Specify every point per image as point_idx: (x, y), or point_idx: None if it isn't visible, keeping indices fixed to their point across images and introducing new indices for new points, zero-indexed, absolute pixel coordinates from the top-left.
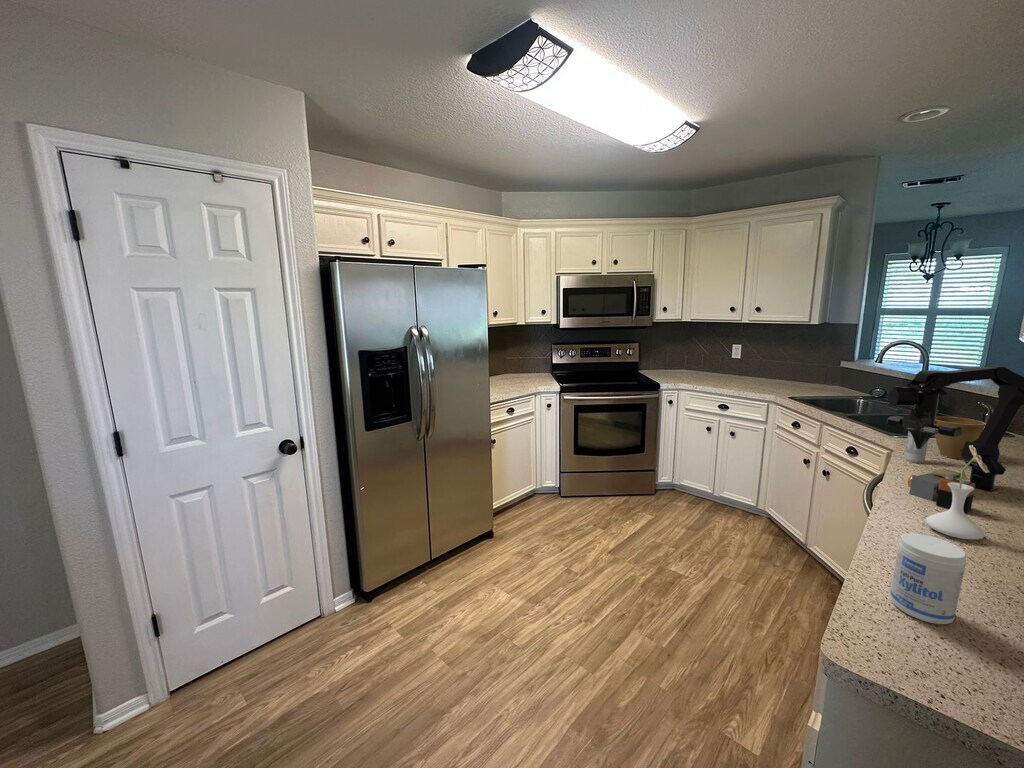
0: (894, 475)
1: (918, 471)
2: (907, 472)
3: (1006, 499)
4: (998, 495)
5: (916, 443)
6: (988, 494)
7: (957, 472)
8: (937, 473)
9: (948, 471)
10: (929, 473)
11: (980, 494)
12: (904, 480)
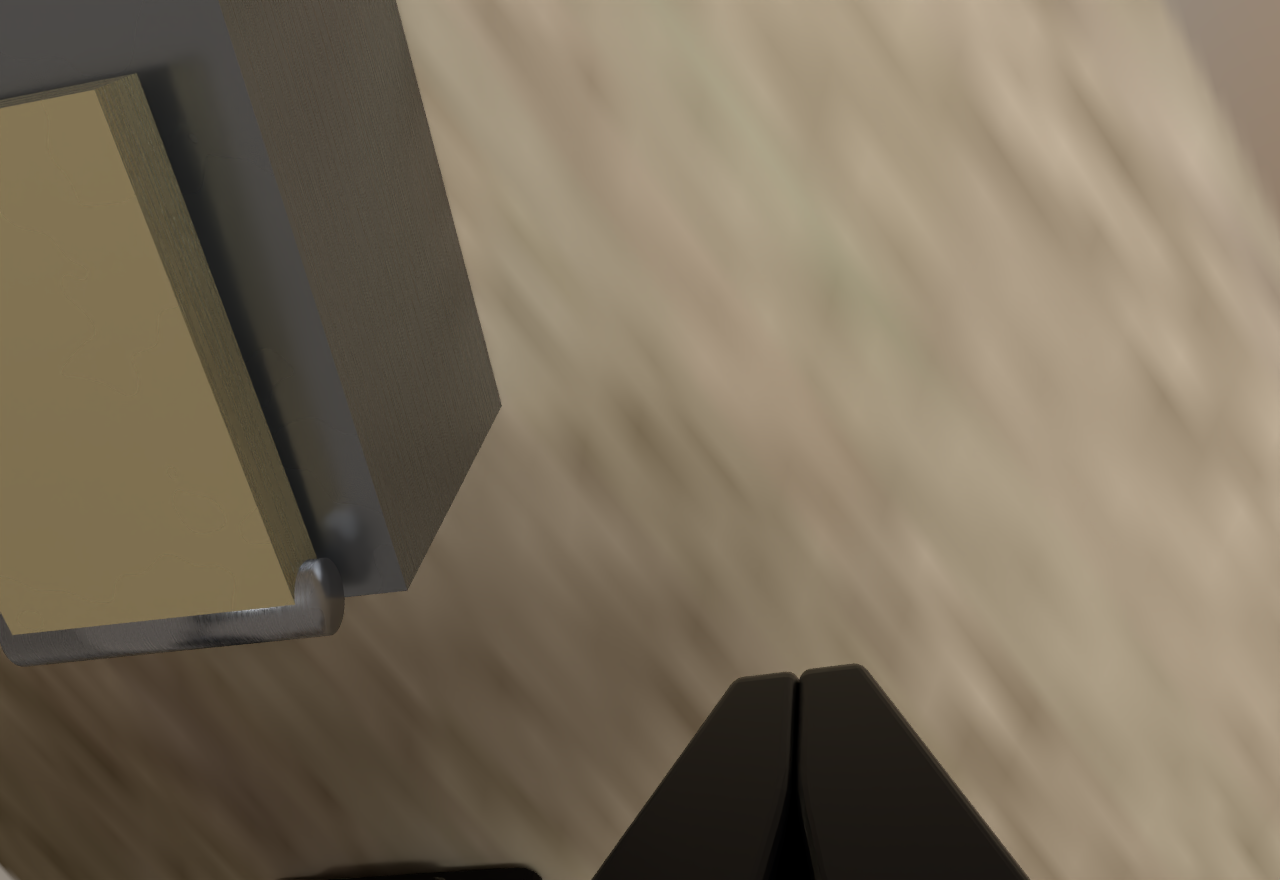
0: (1225, 227)
1: (1180, 860)
2: (1228, 651)
3: (11, 796)
4: (144, 851)
5: (901, 837)
6: (176, 780)
7: (48, 638)
8: (3, 106)
9: (114, 520)
10: (236, 88)
11: (175, 687)
12: (930, 127)
